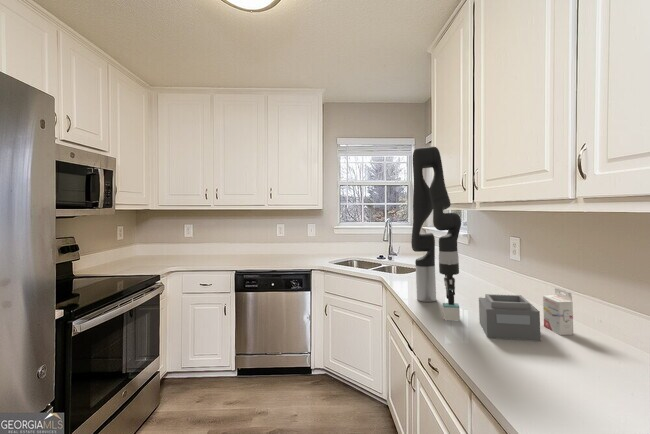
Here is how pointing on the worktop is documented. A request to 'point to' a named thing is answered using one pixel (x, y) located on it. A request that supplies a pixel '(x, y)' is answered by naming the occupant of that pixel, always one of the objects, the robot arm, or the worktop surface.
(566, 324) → the ink cartridge box
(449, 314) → the block
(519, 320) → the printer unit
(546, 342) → the worktop surface
